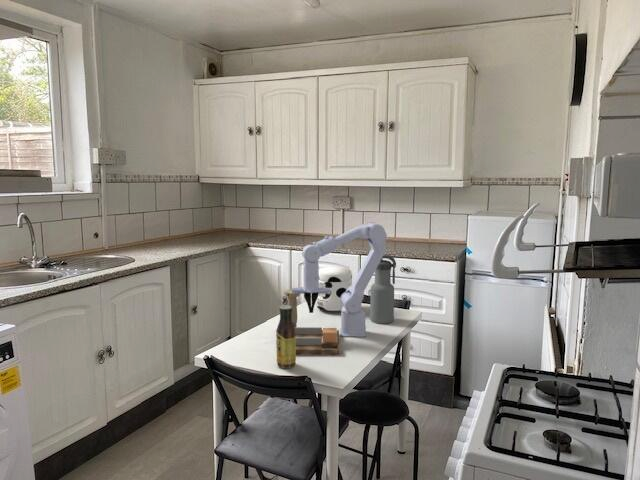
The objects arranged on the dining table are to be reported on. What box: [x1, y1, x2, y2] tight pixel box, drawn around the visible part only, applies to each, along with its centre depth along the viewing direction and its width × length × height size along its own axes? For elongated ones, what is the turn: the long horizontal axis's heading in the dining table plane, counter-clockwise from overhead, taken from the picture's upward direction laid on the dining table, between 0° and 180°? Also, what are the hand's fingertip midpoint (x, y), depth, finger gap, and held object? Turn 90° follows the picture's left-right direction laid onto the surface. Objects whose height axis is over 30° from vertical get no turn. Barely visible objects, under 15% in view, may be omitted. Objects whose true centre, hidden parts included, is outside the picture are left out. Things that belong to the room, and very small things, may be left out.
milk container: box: [315, 266, 353, 313], centre depth 216 cm, size 17×17×18 cm
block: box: [322, 327, 338, 342], centre depth 173 cm, size 5×5×4 cm
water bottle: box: [369, 253, 397, 325], centre depth 199 cm, size 10×10×28 cm
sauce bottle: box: [275, 304, 297, 369], centre depth 154 cm, size 7×6×20 cm
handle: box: [283, 289, 301, 327], centre depth 191 cm, size 5×6×15 cm
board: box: [296, 329, 341, 356], centre depth 174 cm, size 20×20×2 cm
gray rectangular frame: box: [295, 326, 323, 345], centre depth 174 cm, size 14×12×2 cm
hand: (311, 312), depth 182 cm, fingers closed
